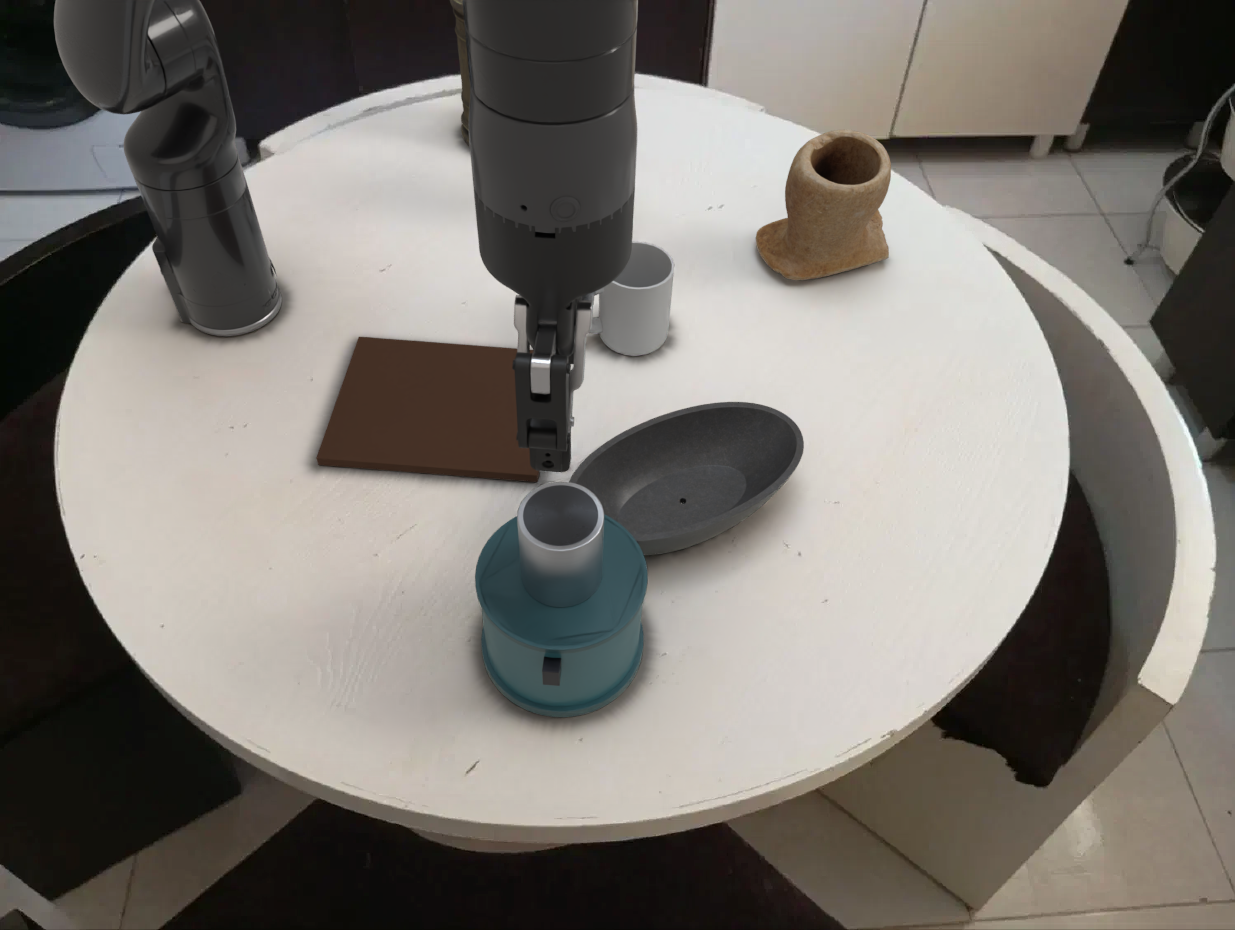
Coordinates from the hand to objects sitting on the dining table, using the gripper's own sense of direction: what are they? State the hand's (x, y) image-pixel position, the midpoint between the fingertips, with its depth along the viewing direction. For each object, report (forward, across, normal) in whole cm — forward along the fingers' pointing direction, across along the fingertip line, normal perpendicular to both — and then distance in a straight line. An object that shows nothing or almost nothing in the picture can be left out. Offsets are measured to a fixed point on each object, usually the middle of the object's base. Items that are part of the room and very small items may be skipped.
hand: (559, 411), depth 58 cm
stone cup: (+27, -51, +24) cm, 63 cm away
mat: (+27, -24, -14) cm, 39 cm away
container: (+27, -71, -16) cm, 78 cm away
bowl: (+27, -14, +9) cm, 32 cm away
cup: (+27, -36, +2) cm, 45 cm away
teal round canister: (+27, 0, 0) cm, 27 cm away
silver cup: (+17, 0, 0) cm, 17 cm away
